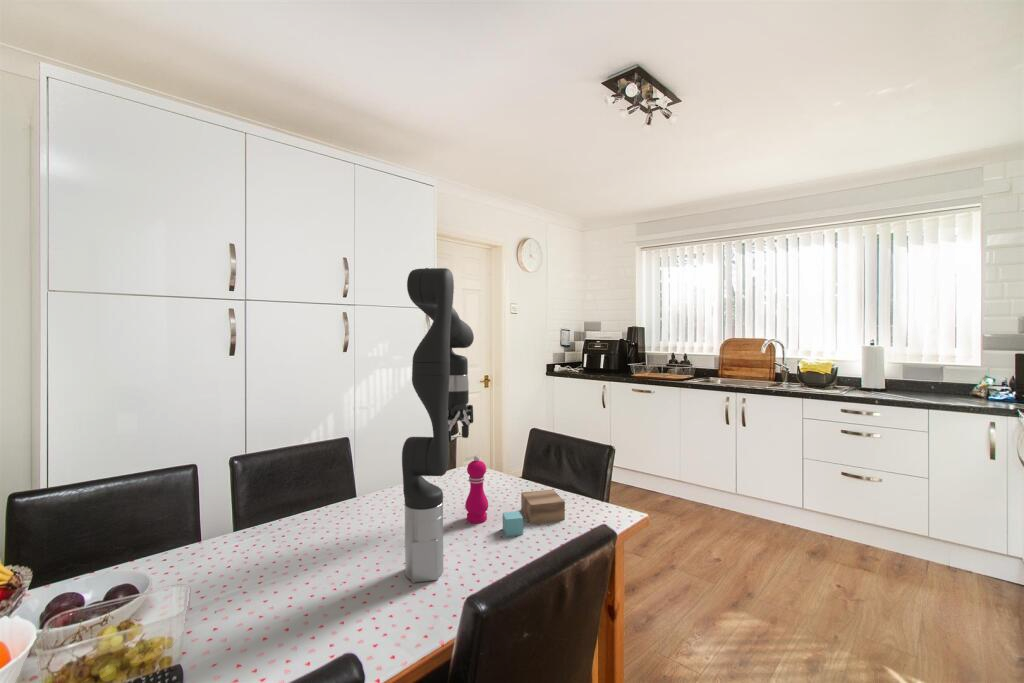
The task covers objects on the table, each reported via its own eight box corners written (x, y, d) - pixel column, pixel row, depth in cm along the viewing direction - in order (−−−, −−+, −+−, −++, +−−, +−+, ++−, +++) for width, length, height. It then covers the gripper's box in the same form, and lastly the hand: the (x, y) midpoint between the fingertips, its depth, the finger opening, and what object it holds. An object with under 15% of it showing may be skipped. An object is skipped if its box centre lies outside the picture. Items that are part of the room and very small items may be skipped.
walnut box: (564, 520, 144) (564, 501, 144) (530, 524, 141) (530, 504, 141) (552, 507, 155) (552, 489, 154) (521, 510, 152) (521, 492, 152)
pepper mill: (490, 515, 148) (489, 453, 147) (486, 524, 140) (486, 459, 140) (467, 514, 148) (467, 452, 148) (463, 523, 141) (462, 458, 140)
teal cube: (523, 534, 134) (523, 517, 133) (506, 536, 133) (506, 519, 132) (519, 527, 138) (519, 511, 138) (502, 529, 137) (502, 512, 137)
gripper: (451, 392, 138) (451, 446, 138) (479, 387, 150) (479, 437, 150) (432, 390, 142) (432, 443, 142) (461, 386, 154) (461, 434, 154)
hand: (456, 440), depth 146 cm, fingers open, 8 cm apart
